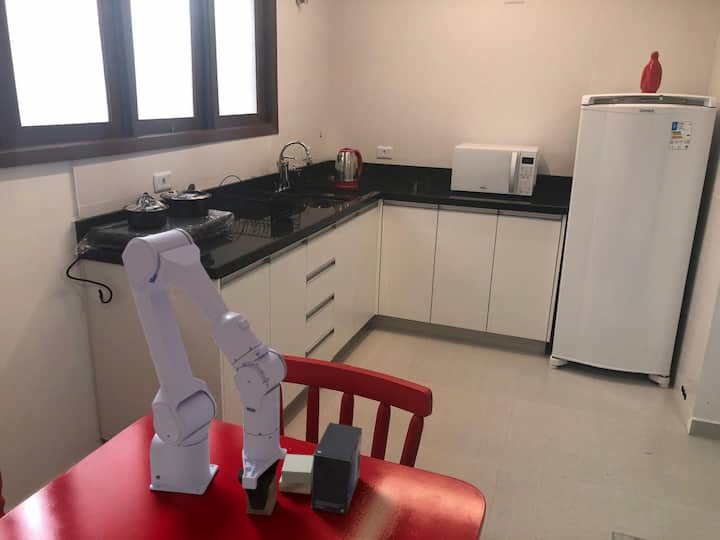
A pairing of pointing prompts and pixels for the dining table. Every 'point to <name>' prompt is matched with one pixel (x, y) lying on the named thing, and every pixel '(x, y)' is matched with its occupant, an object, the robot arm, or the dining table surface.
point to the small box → (336, 468)
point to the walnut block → (270, 500)
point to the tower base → (295, 487)
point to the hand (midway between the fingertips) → (262, 498)
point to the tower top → (297, 469)
